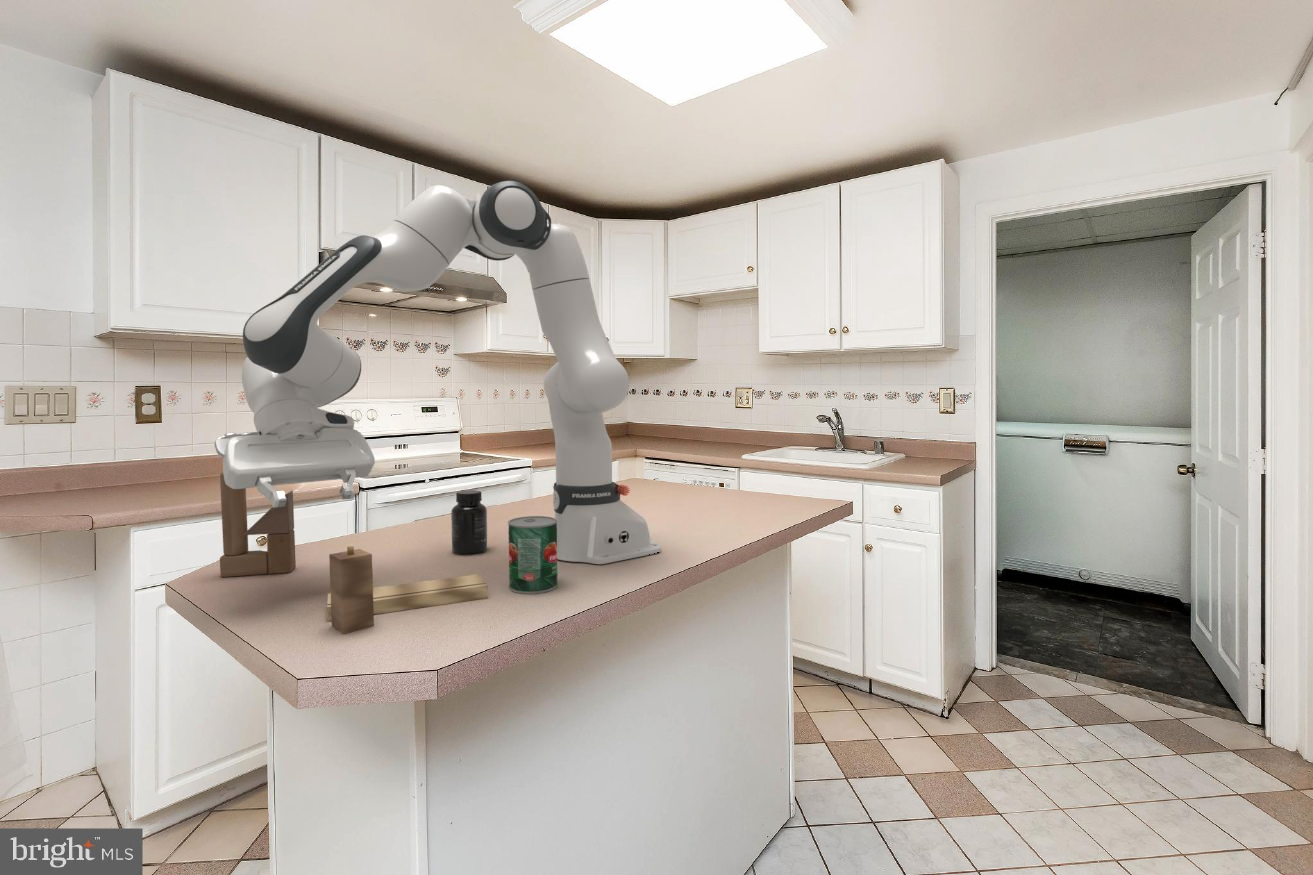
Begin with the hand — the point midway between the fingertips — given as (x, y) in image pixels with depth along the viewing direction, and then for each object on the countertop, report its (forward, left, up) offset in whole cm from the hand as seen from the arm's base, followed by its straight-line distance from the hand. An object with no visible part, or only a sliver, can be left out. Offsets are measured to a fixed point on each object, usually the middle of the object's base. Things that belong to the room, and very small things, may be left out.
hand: (315, 500), depth 91 cm
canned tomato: (-31, +6, -16) cm, 35 cm away
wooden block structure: (+10, -23, -16) cm, 30 cm away
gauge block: (-4, +12, -16) cm, 20 cm away
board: (-12, +5, -16) cm, 21 cm away
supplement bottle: (-26, -22, -16) cm, 38 cm away
